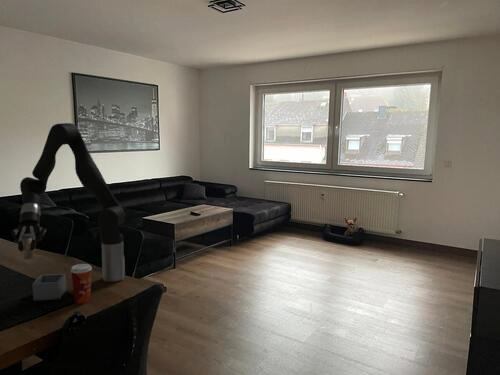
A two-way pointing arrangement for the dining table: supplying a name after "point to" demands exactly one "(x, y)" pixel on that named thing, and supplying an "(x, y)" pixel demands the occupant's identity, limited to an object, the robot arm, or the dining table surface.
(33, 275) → the dining table surface
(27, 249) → the birch peg
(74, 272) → the paper cup
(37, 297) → the grey open box
